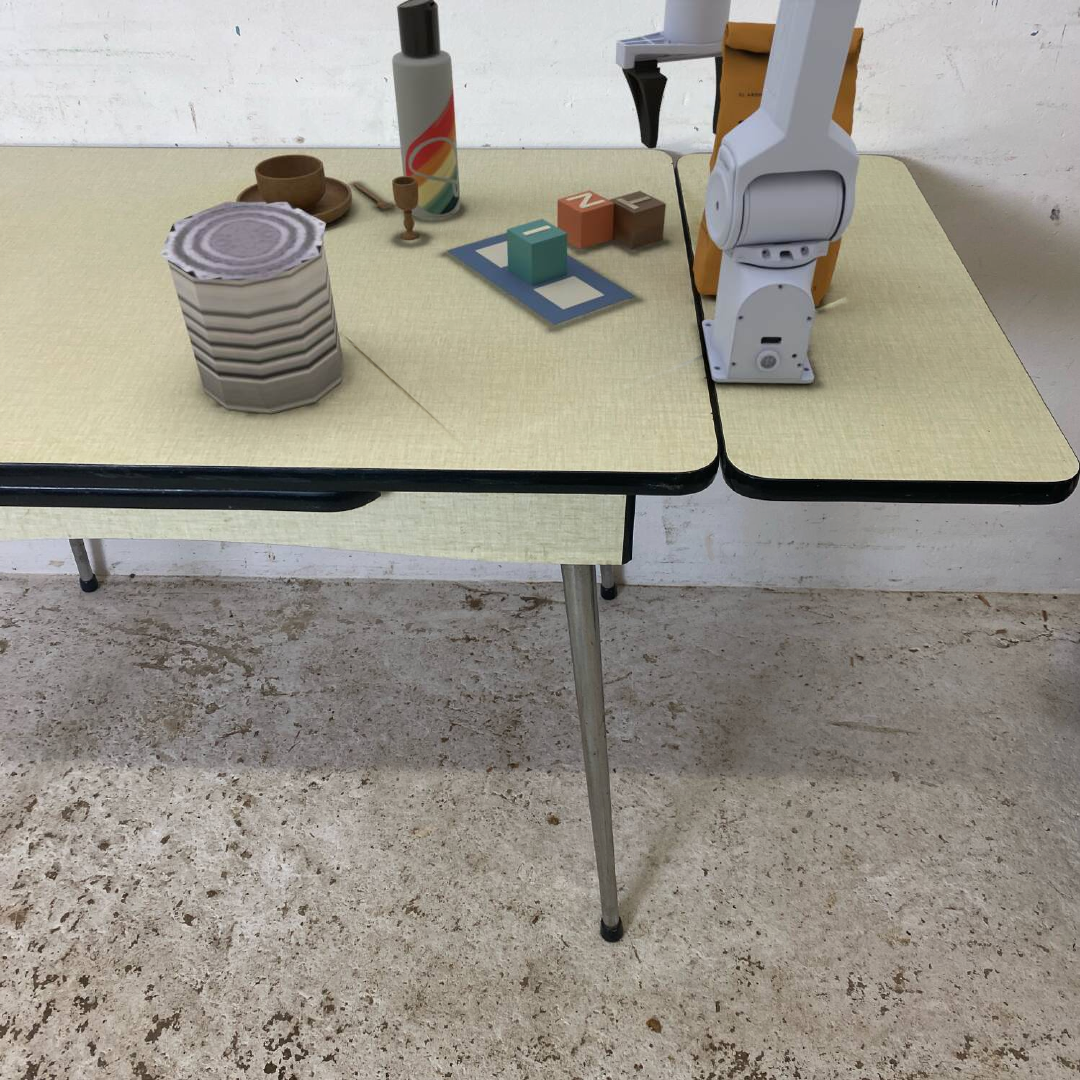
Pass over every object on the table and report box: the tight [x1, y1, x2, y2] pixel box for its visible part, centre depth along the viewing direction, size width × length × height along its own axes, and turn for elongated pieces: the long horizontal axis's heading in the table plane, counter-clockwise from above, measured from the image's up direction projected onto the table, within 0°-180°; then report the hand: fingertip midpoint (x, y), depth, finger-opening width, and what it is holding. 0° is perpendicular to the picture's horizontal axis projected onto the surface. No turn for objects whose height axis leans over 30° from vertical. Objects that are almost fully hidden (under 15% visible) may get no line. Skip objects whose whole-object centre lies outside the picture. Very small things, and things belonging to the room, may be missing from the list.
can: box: [159, 201, 344, 415], centre depth 72 cm, size 11×11×12 cm
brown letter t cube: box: [608, 190, 667, 250], centre depth 93 cm, size 4×4×4 cm
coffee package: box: [692, 20, 865, 308], centre depth 80 cm, size 10×12×22 cm
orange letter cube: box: [556, 190, 614, 250], centre depth 93 cm, size 4×4×4 cm
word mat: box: [446, 232, 636, 326], centre depth 89 cm, size 18×9×1 cm, turn 35°
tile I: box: [506, 218, 568, 285], centre depth 87 cm, size 4×4×4 cm
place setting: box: [235, 154, 421, 241], centre depth 96 cm, size 18×20×6 cm
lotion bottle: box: [391, 0, 461, 219], centre depth 94 cm, size 6×6×20 cm
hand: (684, 140), depth 91 cm, fingers open, 7 cm apart
